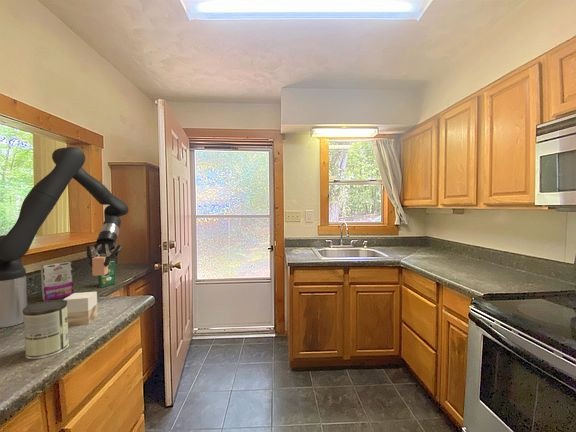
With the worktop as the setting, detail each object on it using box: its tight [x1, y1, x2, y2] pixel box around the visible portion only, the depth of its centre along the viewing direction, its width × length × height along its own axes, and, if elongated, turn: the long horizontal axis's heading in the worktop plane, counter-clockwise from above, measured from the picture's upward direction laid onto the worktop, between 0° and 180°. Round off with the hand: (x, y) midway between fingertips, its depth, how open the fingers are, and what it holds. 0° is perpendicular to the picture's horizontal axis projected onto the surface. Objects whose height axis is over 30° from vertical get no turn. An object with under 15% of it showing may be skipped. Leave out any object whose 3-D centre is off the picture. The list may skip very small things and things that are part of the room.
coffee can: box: [23, 299, 70, 360], centre depth 85 cm, size 10×10×14 cm
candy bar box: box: [40, 261, 74, 302], centre depth 135 cm, size 11×5×16 cm, turn 143°
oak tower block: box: [67, 303, 99, 327], centre depth 107 cm, size 8×8×5 cm
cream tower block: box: [62, 291, 98, 313], centre depth 107 cm, size 8×8×5 cm
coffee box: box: [97, 260, 116, 288], centre depth 154 cm, size 8×3×13 cm, turn 153°
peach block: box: [91, 255, 108, 277], centre depth 122 cm, size 4×4×8 cm
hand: (98, 265), depth 121 cm, fingers closed on peach block, 4 cm apart
